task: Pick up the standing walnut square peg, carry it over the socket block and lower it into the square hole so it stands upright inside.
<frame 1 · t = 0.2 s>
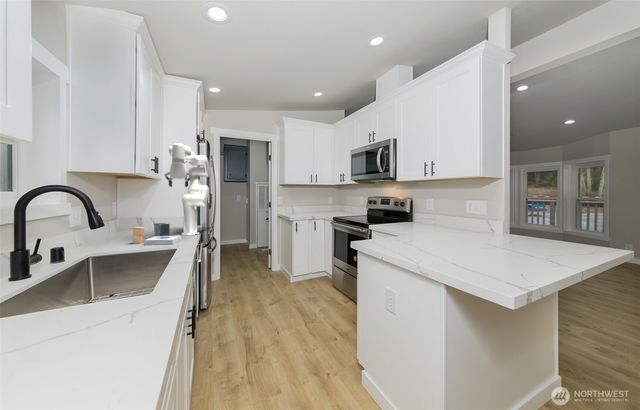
hand: (178, 186, 174), 36 cm above the counter, tool pointing down, fingers open, 9 cm apart
peg: (138, 243, 160), on the counter
small box: (161, 238, 180), on the counter
socket: (163, 242, 164), on the counter
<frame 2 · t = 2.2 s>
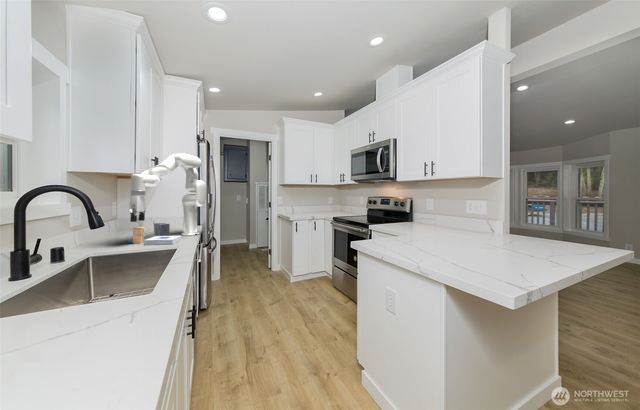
hand: (137, 221, 159), 14 cm above the counter, tool pointing down, fingers open, 9 cm apart
nothing on the counter moved.
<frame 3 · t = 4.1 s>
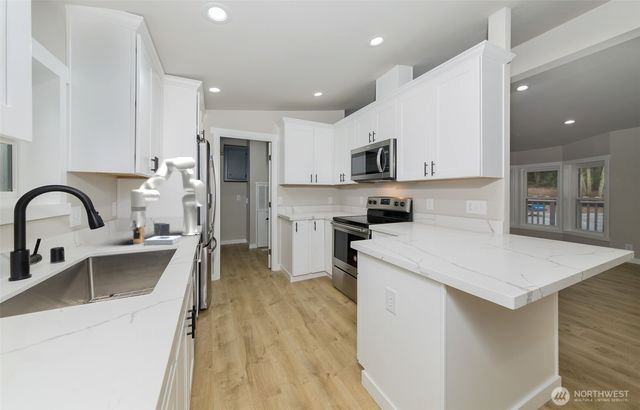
hand: (138, 237, 160), 3 cm above the counter, tool pointing down, fingers closed on peg, 4 cm apart
peg: (138, 243, 160), on the counter, touching gripper
everything else where it was.
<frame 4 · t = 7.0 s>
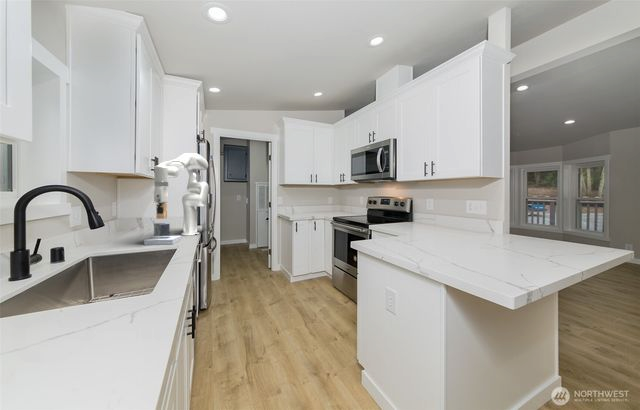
hand: (161, 213, 163), 19 cm above the counter, tool pointing down, fingers closed on peg, 4 cm apart
peg: (161, 218, 163), point 16 cm above the counter, touching gripper
everything else where it was.
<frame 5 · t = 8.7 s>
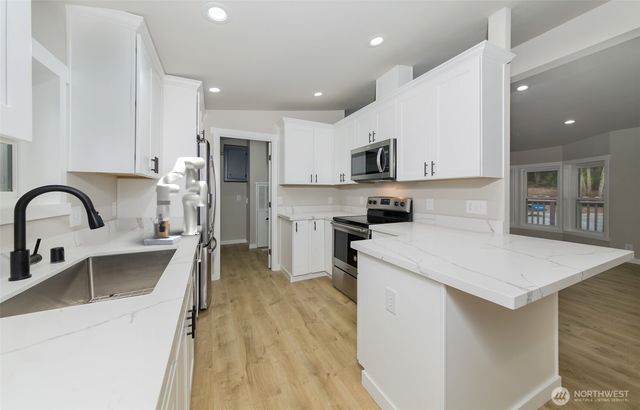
hand: (163, 231, 163), 7 cm above the counter, tool pointing down, fingers closed on peg, 4 cm apart
peg: (163, 236, 163), point 4 cm above the counter, touching gripper
everything else where it was.
when the fingers open (5 cm above the counter, at t = 9.9 s): peg drops 1 cm, resting in socket.
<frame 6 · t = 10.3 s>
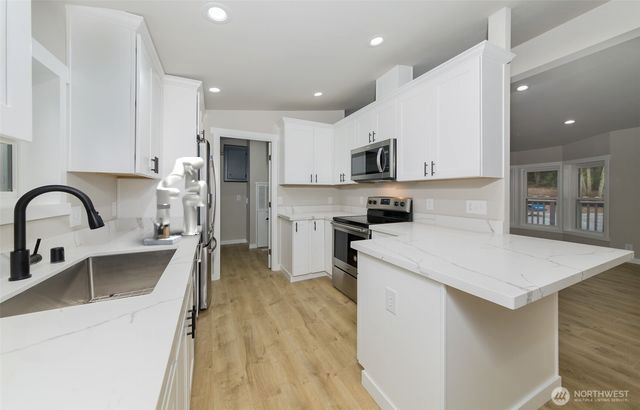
hand: (163, 233, 163), 6 cm above the counter, tool pointing down, fingers open, 9 cm apart
peg: (163, 242, 164), resting in socket
everything else where it was.
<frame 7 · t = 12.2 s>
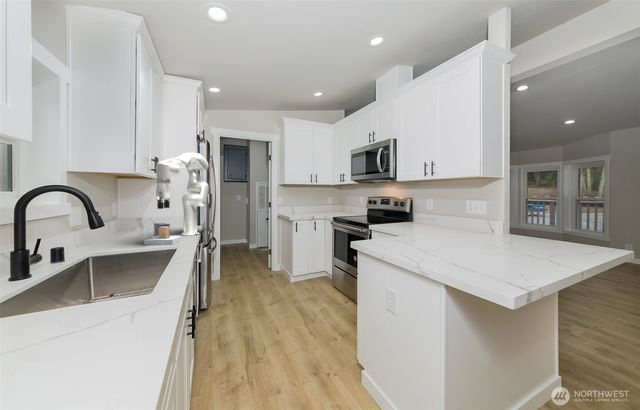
hand: (163, 208, 163), 22 cm above the counter, tool pointing down, fingers open, 9 cm apart
nothing on the counter moved.
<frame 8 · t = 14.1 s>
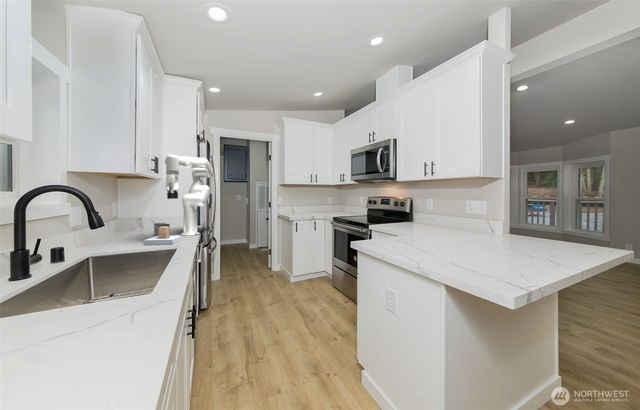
hand: (172, 198, 173), 28 cm above the counter, tool pointing down, fingers open, 9 cm apart
nothing on the counter moved.
at the end: peg 0.1 cm off-centre on the socket, point 0.0 cm above the socket's base; peg tilted 0°; the gripper is holding nothing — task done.
